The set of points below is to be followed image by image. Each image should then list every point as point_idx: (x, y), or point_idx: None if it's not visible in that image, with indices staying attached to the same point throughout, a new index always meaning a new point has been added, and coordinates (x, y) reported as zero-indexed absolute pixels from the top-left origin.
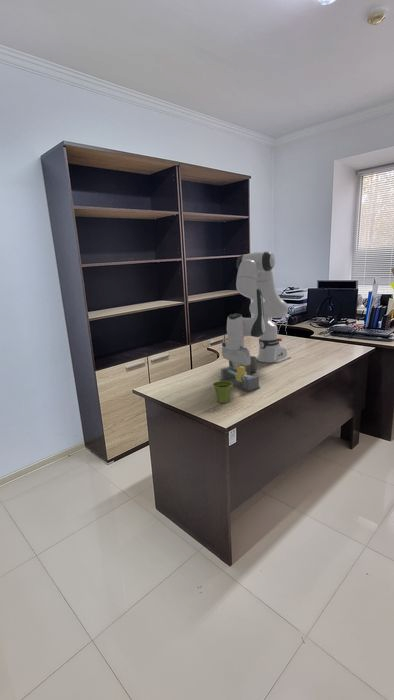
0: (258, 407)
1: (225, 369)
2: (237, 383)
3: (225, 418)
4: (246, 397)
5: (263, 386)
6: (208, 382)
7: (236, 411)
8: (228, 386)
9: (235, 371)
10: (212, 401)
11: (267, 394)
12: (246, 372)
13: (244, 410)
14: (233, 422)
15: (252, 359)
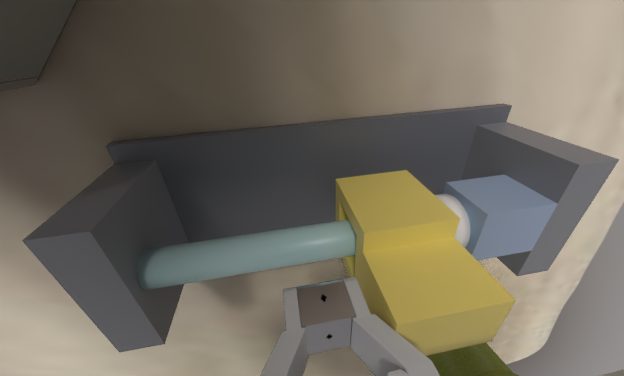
0: (588, 252)
1: (153, 320)
2: (329, 208)
3: (516, 344)
4: None
5: (511, 56)
6: (176, 320)
7: (524, 315)
8: (480, 371)
9: (5, 79)
10: None
11: (590, 138)
12: (457, 223)
13: (546, 295)
14: (547, 336)
15: None
